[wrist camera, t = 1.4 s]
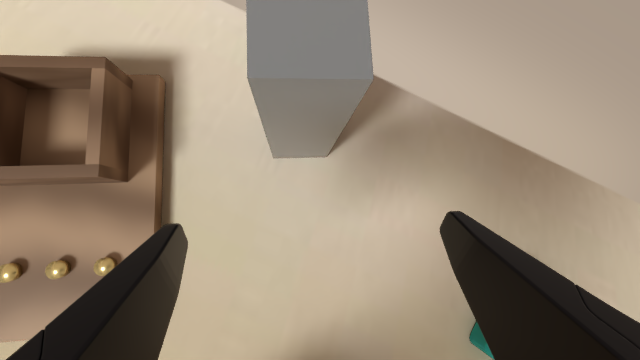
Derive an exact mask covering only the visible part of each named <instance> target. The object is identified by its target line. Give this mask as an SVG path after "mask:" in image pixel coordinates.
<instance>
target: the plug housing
mask: <svg viewBox="0 0 640 360" xmlns="http://www.w3.org/2000/svg"><path fill="white" fill-rule="evenodd" d="M246 1H247V78H248V81H249V84H250V87H251V91H252V94H253V97H254V100H255V103H256V106H257V109H258V112H259V115H260V118H261V122H262V125H263V128H264V131H265V134H266V137H267V140H268V143H269V146H270V149H271V152H272V156H273V158H309V157H327V155H328V153H329V152H330V150H331V149H332V147H333V145H334V144H335V142H336V140H337V139H338V137H339V135H340V134H341V132H342V130H343V129H344V127H345V126H346V124H347V122H348V121H349V119H350V117H351V116H352V114H353V112H354V111H355V109H356V107H357V106H358V104H359V103H360V101H361V99H362V98H363V96H364V94H365V93H366V91H367V89H368V88H369V86H370V84H371V83H372V81H373V80H374V79H373V66H372V53H371V40H370V28H369V15H368V2H367V0H246Z"/></svg>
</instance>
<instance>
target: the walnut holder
mask: <svg viewBox="0 0 640 360" xmlns="http://www.w3.org/2000/svg"><path fill="white" fill-rule="evenodd" d="M164 106H165V81H164V80H163V79H162V77H161V76H160V75H126V74H125V73H124V72H122V71H121V70H120V69H119V68H118V67H117V66H115V65H114V64H113V63H112V62H111V61H109V60H108V59H107V58H106V57H69V56H19V55H0V342H10V341H21V340H30V339H31V338H32V337H33V336H35V335H36V334H37V333H38V332H39V331H41V330H43V329H45V327H46V326H47V325H48V324H49V323H50V322H51V321H52V320H54V319H55V318H56V317H57V316H58V315H59V314H61V313H62V312H63V311H64V310H65V309H66V308H68V307H69V306H70V305H71V304H72V303H73V302H75V301H76V300H77V299H78V298H79V297H80V296H82V295H83V294H84V293H85V292H86V291H88V290H89V289H90V288H91V287H92V286H93V285H95V284H96V283H97V282H98V281H99V280H100V279H102V278H103V277H104V276H105V275H106V274H107V273H109V272H110V271H111V270H112V269H113V268H114V267H116V266H117V265H118V264H119V263H120V262H121V261H123V260H124V259H125V258H126V257H127V256H129V255H130V254H131V253H132V252H133V251H134V250H136V249H137V248H138V247H139V246H140V245H141V244H143V243H144V242H145V241H146V240H147V239H148V238H150V237H151V236H152V235H153V234H154V233H155V232H157V231H158V230H159V229H160V228H161V206H162V173H163V139H164Z"/></svg>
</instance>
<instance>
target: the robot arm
mask: <svg viewBox="0 0 640 360" xmlns="http://www.w3.org/2000/svg"><path fill="white" fill-rule="evenodd" d="M440 234H441V237H442V240H443V243H444V246H445V249H446V252H447V254H448V257H449V260H450V263H451V266H452V269H453V271H454V274H455V276H456V278H457V280H458V283H459V285H460V287H461V289H462V291H463V293H464V295H465V297H466V300H467V302H468V304H469V306H470V308H471V310H472V312H473V315H474V317H475V319H476V321H477V323H478V325H479V327H480V330H481V332H482V334H483V336H484V338H485V340H486V342H487V344H488V347H489V349H490V351H491V353H492V355H493V357H494V359H495V360H640V323H639V322H637V321H635V320H634V319H632V318H630V317H628V316H627V315H625V314H623V313H622V312H620V311H618V310H616V309H615V308H613V307H611V306H610V305H608V304H607V303H605V302H603V301H602V300H600V299H599V298H597V297H595V296H594V295H592V294H590V293H589V292H587V291H586V290H584V289H583V288H581V287H579V286H578V285H575V284H574V283H573V282H571V281H570V280H568V279H567V278H565V277H564V276H562V275H560V274H559V273H557V272H556V271H554V270H553V269H551V268H549V267H548V266H546V265H545V264H543V263H541V262H540V261H538V260H537V259H535V258H534V257H532V256H530V255H529V254H527V253H526V252H524V251H523V250H521V249H519V248H518V247H516V246H515V245H513V244H512V243H510V242H508V241H507V240H505V239H504V238H502V237H500V236H499V235H497V234H496V233H494V232H493V231H491V230H489V229H488V228H486V227H485V226H483V225H482V224H480V223H478V222H477V221H475V220H474V219H472V218H470V217H469V216H467V215H466V214H464V213H463V212H460V211H450V212H448V213H447V214H446V216H445V218H444V220H443V222H442V224H441V226H440ZM187 248H188V241H187V238H186V235H185V233H184V231H183V228H182V226H181V225H180V224H178V223H176V224H166V225H164V226H162V227H161V228H160V229H159V230H158V231H157V232H155V233H154V234H153V235H152V236H151V237H150V238H148V239H147V240H146V241H145V242H144V243H143V244H141V245H140V246H139V247H138V248H137V249H136V250H134V251H133V252H132V253H131V254H130V255H129V256H127V257H126V258H125V259H124V260H123V261H121V262H120V263H119V264H118V265H117V266H116V267H114V268H113V269H112V270H111V271H110V272H109V273H107V274H106V275H105V276H104V277H103V278H102V279H100V280H99V281H98V282H97V283H96V284H95V285H93V286H92V287H91V288H90V289H89V290H88V291H86V292H85V293H84V294H83V295H82V296H80V297H79V298H78V299H77V300H76V301H75V302H73V303H72V304H71V305H70V306H69V307H68V308H66V309H65V310H64V311H63V312H62V313H61V314H59V315H58V316H57V317H56V318H55V319H54V320H52V321H51V322H50V323H49V324H48V325H47V326H46V327H45V329H43V330H41V331H39V332H38V333H37V334H36V335H35V336H33V337H32V338H31V339H30V340H29V341H28V342H26V343H25V344H24V345H23V346H22V347H20V348H19V349H18V350H17V351H16V352H14V353H13V354H12V355H11V356H10V357H8V358H7V359H6V360H158V357H159V354H160V351H161V348H162V345H163V341H164V338H165V335H166V332H167V329H168V326H169V322H170V319H171V316H172V313H173V310H174V307H175V303H176V300H177V297H178V293H179V289H180V284H181V279H182V274H183V269H184V263H185V258H186V253H187Z"/></svg>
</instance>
